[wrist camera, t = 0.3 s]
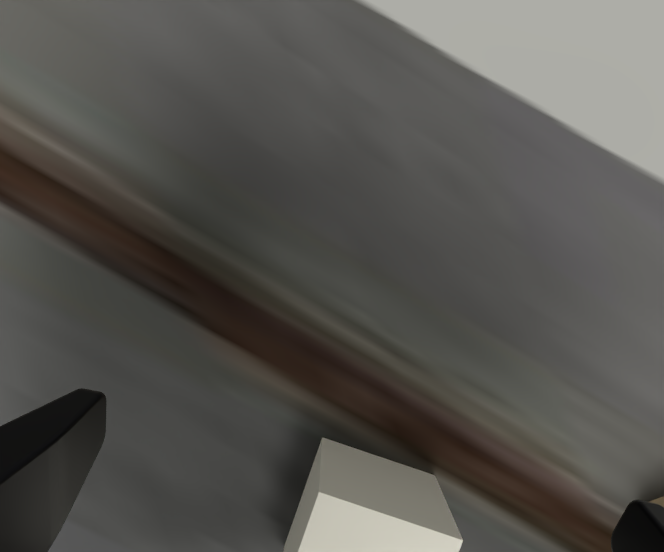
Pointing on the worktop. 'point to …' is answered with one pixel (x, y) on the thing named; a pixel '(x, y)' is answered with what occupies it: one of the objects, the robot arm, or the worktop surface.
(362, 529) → the cream cube
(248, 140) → the worktop surface
